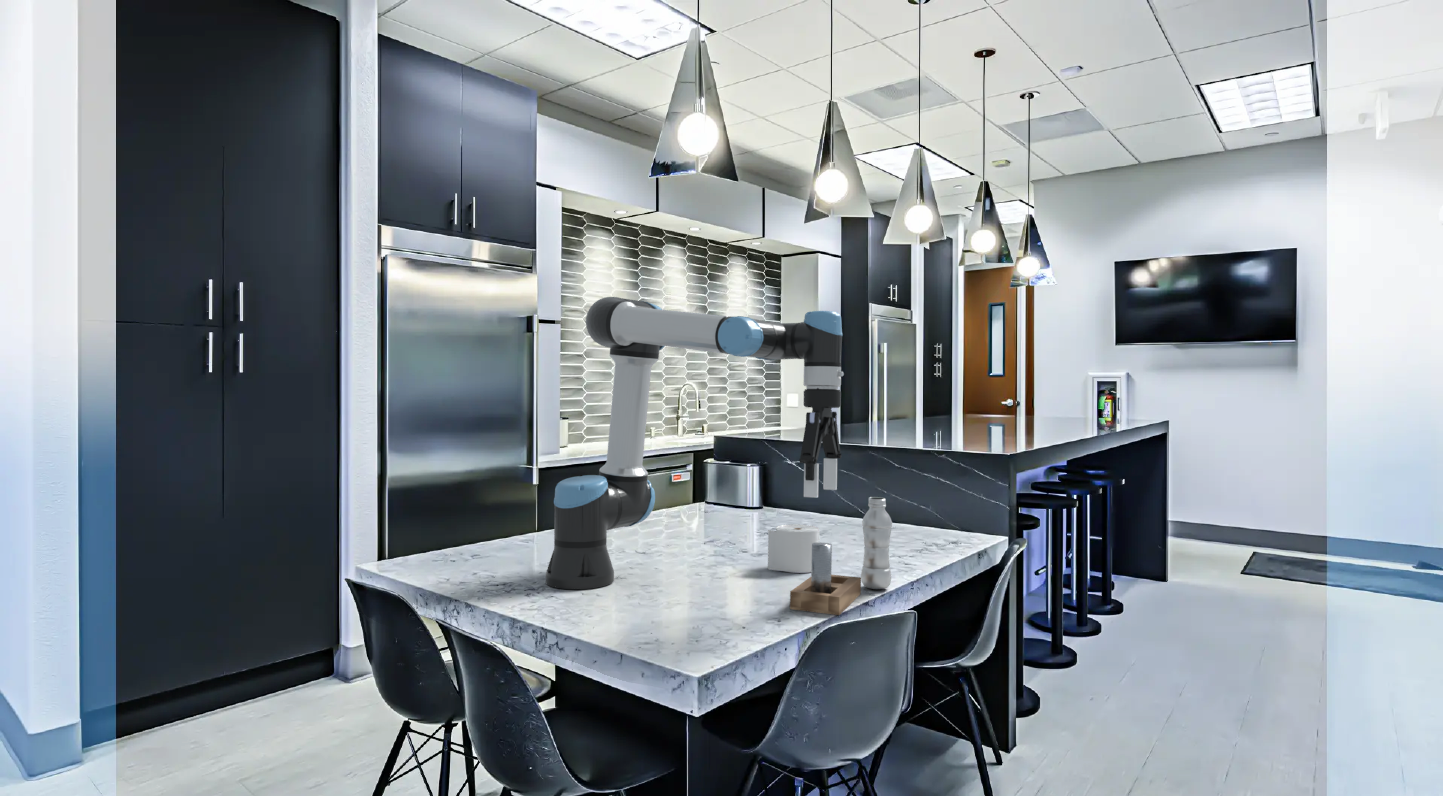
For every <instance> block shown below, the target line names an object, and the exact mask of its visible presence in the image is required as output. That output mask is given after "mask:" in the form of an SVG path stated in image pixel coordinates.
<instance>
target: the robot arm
mask: <svg viewBox="0 0 1443 796" xmlns="http://www.w3.org/2000/svg"><path fill="white" fill-rule="evenodd" d="M842 324H843V323H842V316H841V314H840V313H839V312H838V311H830V310H813V311H808V312H806V313H805V314H804V319H803V321H802V322H787V323H783V322H782V323H781V322H776V321H775V322H773V321H768V320H764V319H763V320H762V319H756V318H752V317H748V316H744V315H743V316H742V315H741V316H740V315H738V316H728V315H720V314H710V313H700V312H689V311H678V310H672V309H671V310H670V309H669V310H668V309H662V308H661V307H660V306H658V305H656V304H654V303H650V302H648V301H644V300H636V299H629V298H621V297H617V296H607V297H602V298H599V299H598V300H596V301H595V302H594V303H593V304H592V305H591V306H590V307H589V309H588V311H587V313H586V317H585V326H586V327H585V328H586V331H587V333H588V335H589V336H590V338H591V339H592V340H593V341H594V342H595V343H596V344H598V345H600V346H603V347H605V348H609V357H610V358H611V359H612V361H613V362H614V375H613V385H612V396H611V398H612V399H611V409H610V420H609V430H608V431H609V432H608V441H607V453H606V462H605V464H604V465H602V466H601V467H600V468H599V471H598V474H597V475H596V474H587V475H585V474H584V475H582V476H580V475H578V476H572V477H568V478H565V479H562V480H561V481H559V482H558V483H556V486H555V489H554V498H553V504H554V505H553V506H554V507H553V509H554V513H553V514H554V515H553V516H554V517H553V520H554V522H553V523H554V524H553V525H554V526H553V529H554V530H553V531H554V533H553V535H554V537H553V539H554V541H553V542H554V544H553V551H552V554H551V557H550V560H549V562H548V566H547V570H546V571H545V584H546V585H547V586H549V587H552V588H555V589H563V590H589V589H596V588H603V587H606V586H609V585H610V584H612V583H614V582H615V570H614V566H613V564H612V561H611V560H612V559H611V557H610V554H609V551H608V548H607V546H608V545H607V543H608V541H607V533H608V532H607V531H609V530H615V529H619V528H627V527H632V526H634V525H637V524H639V523H642V522H643V521H645V520H646V519H648V518H649V516H650V515H651V513H652V511H653V510H654V507H655V504H656V503H655V502H656V491H655V489H654V487H652V486H653V484H652V483H651V481H650V480H649V479H648V474H649V472H648V471H647V469H645V467H644V465H643V463H644V462H643V461H644V450H645V439H646V430H647V429H646V427H647V426H646V425H647V418H648V417H647V416H648V407H649V396H650V395H649V394H650V386H651V384H650V383H651V375H652V367H653V365H655V364H656V363H657V362H658V361H659V358H660V351H661V350H663V349H664V348H665V347H669V348H677V349H683V350H684V349H685V350H691V351H692V350H694V351H702V352H710V353H715V354H716V353H718V354H725V355H732V356H734V357H743V358H745V357H746V358H747V357H748V358H749V357H750V358H755V359H757V360H764V361H775V360H776V361H777V360H803V386H804V387H805V388H806V389H804V390H803V407H804V408H812V409H811V411H808V412H806V415H805V427H804V432H803V438H802V439H803V440H802V445H801V451H800V456H799V460H798V461H799V463H800V464H803V498H813V499H814V498H819V476H820V475H819V473H820V471H819V470H820V469H819V467H820V464H819V463H818V459H819V454H820V451H821V447H822V448H823V451H824V455H825V458H823V479H822V480H823V484H822V486H823V490H825V491H837V490H838V488H837V487H838V459H841V458H842V453H841V446H840V437H839V432H838V431H839V429H838V420H837V418H838V417H837V416H838V414H837V411H832V409H839V408H841V406H842V391H841V389H838V388H839V387H841V385H842V377H843V376H844V375H845V373H844V371H842V349H843V348H842V344H843V343H842V342H843V335H844V334H843V329H842V327H843V326H842Z"/></svg>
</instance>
